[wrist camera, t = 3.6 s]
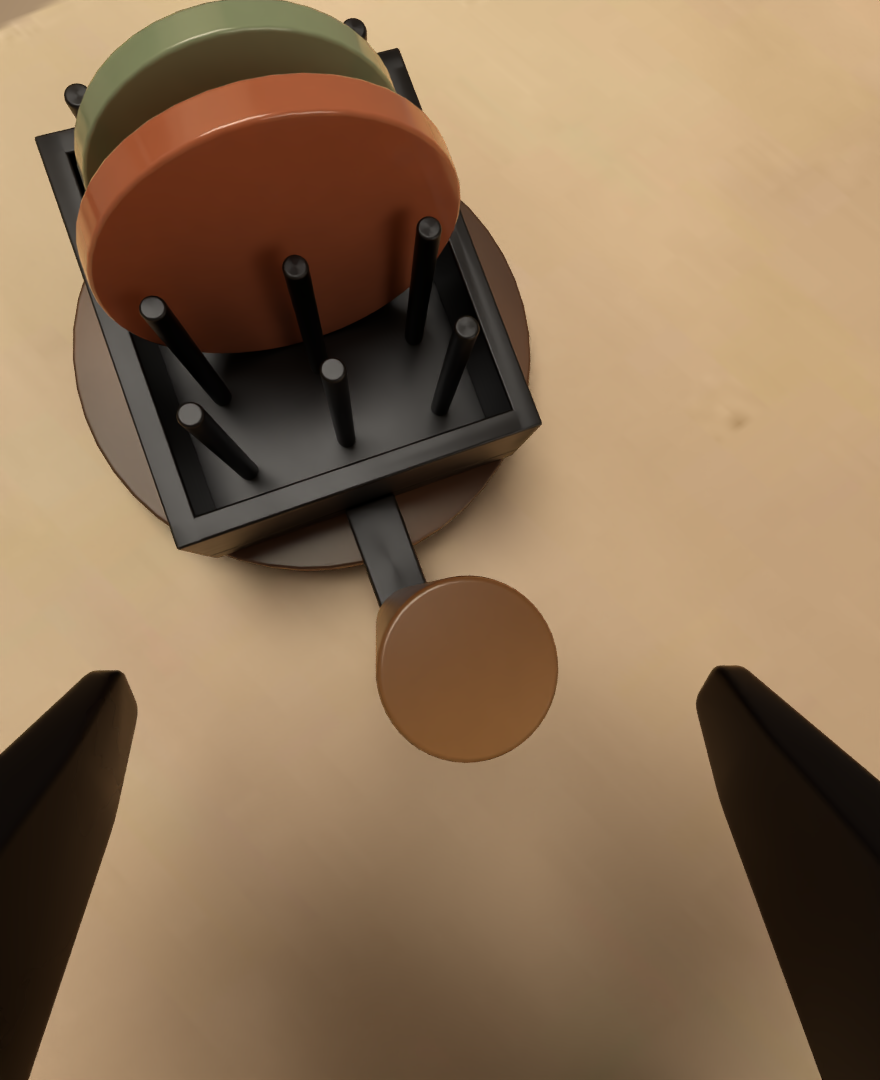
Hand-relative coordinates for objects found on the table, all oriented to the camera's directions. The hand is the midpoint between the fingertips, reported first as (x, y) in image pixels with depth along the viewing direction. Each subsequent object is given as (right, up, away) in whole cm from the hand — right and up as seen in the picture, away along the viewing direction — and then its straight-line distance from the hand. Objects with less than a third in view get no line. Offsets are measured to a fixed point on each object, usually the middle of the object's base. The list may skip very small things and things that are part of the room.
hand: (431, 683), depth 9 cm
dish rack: (-3, +6, +8) cm, 10 cm away
